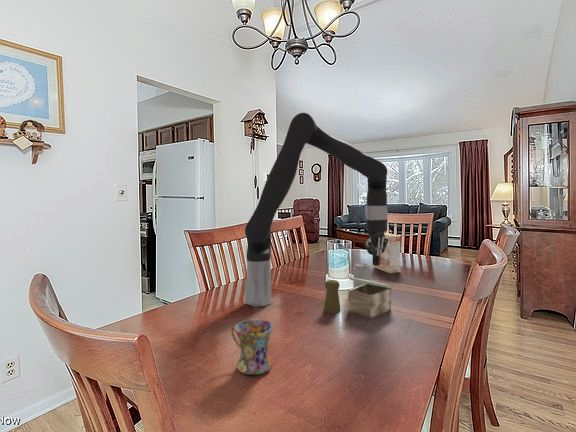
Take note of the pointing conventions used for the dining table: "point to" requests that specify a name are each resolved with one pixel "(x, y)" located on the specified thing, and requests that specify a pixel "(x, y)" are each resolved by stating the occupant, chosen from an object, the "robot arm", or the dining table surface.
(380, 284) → the lid
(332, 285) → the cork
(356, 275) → the can
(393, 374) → the dining table surface
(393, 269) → the coffeecake box
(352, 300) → the box
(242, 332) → the mug
